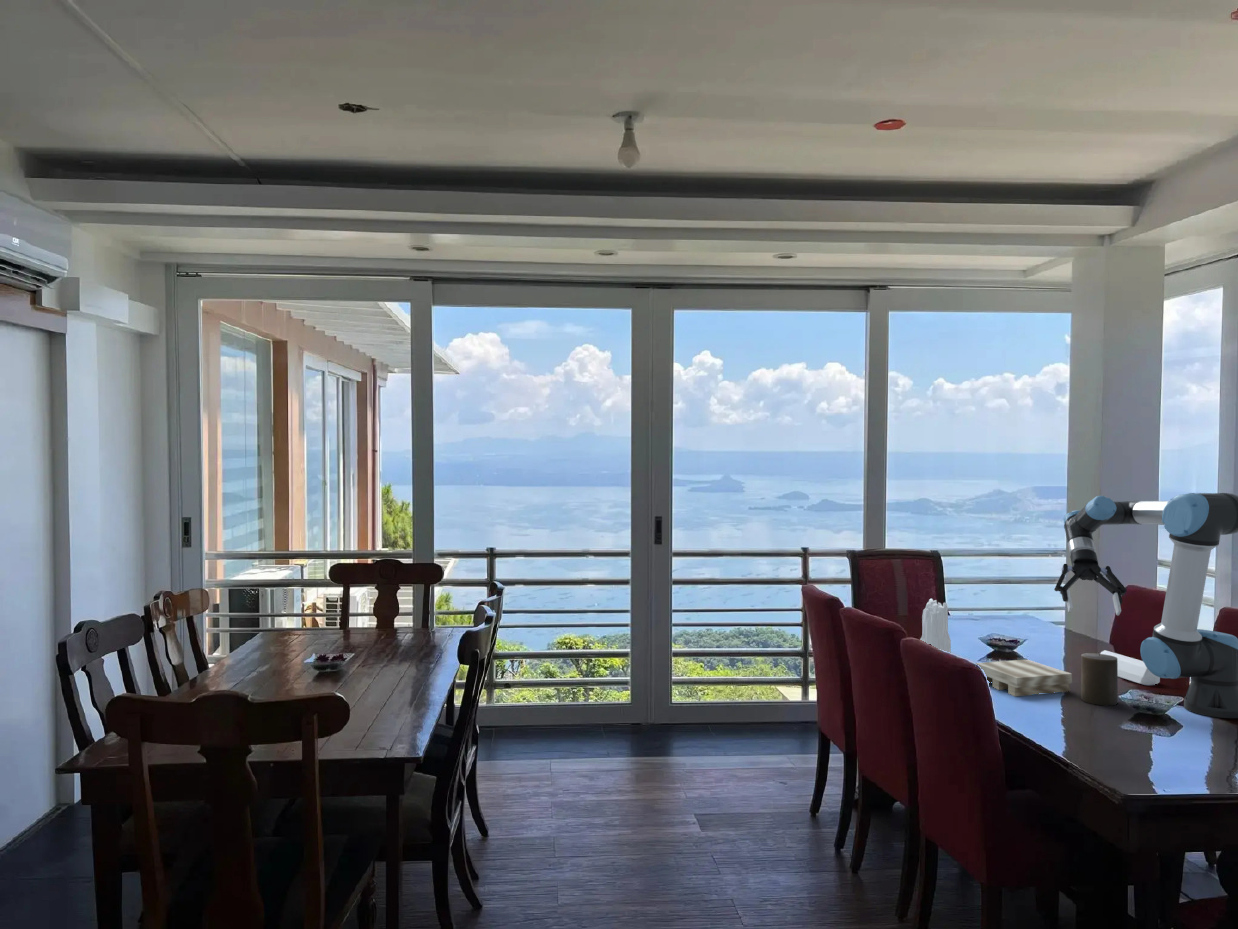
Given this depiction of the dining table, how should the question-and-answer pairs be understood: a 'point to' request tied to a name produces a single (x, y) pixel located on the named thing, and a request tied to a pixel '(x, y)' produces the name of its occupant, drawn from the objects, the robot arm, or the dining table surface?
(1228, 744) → the dining table surface
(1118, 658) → the white octagonal bar
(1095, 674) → the pillar candle
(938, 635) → the decorative vase
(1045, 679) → the plate
